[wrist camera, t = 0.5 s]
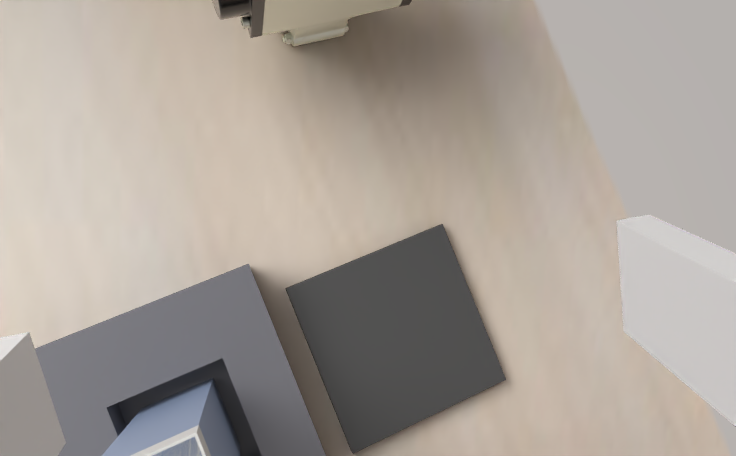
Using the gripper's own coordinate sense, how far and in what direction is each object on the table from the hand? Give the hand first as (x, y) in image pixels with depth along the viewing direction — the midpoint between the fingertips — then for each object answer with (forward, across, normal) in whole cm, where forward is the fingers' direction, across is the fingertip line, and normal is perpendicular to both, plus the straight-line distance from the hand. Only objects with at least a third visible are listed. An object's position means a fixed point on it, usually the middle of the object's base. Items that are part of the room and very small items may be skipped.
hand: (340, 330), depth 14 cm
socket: (+19, -9, -12) cm, 25 cm away
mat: (+22, +3, -10) cm, 24 cm away
